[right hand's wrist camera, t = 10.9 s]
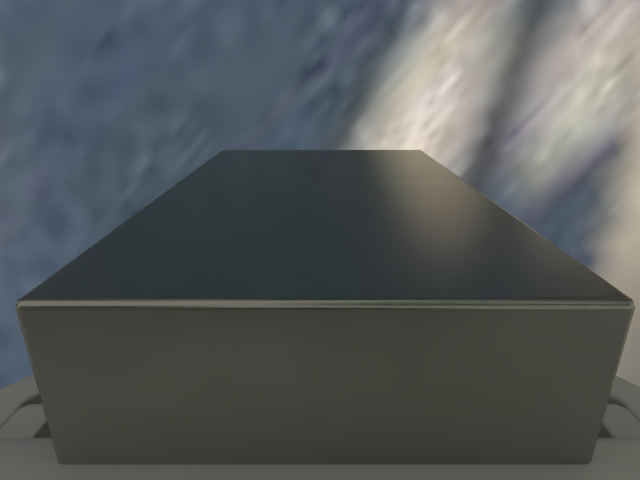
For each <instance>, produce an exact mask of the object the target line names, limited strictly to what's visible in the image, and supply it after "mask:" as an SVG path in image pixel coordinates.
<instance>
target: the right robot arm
mask: <svg viewBox="0 0 640 480" xmlns="http://www.w3.org/2000/svg"><path fill="white" fill-rule="evenodd" d="M0 480H640V387H639V386H637V385H634V384H632V383H630V382H628V381H626V380H624V379H621V378H619V377H617V376H615V379H614V383H613V386H612V390H611V393H610V397H609V400H608V404H607V407H606V411H605V414H604V418H603V421H602V425H601V428H600V432H599V435H598V439H597V442H596V446H595V449H594V453H593V456H592V460H591V463H589V464H586V465H62V464H60V463H58V459H57V455H56V452H55V448H54V445H53V441H52V437H51V434H50V430H49V427H48V423H47V420H46V416H45V412H44V409H43V405H42V402H41V398H40V394H39V391H38V387H37V384H36V380H35V376H34V374H32V375H30V376H28V377H26V378H24V379H22V380H20V381H17V382H15V383H13V384H11V385H9V386H7V387H4V388H2V389H0Z"/></svg>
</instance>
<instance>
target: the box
mask: <svg viewBox="0 0 640 480" xmlns="http://www.w3.org/2000/svg"><path fill="white" fill-rule="evenodd" d="M634 309H635V307H634V302H633V300H632V299H631V298H629V297H628V296H626V295H625V294H623V293H622V292H621V291H619V290H618V289H616V288H615V287H614V286H612V285H611V284H609V283H608V282H606V281H605V280H604V279H602V278H601V277H599V276H598V275H597V274H595V273H594V272H592V271H591V270H590V269H588V268H587V267H585V266H584V265H582V264H581V263H580V262H578V261H577V260H575V259H574V258H573V257H571V256H570V255H568V254H567V253H565V252H564V251H563V250H561V249H560V248H558V247H557V246H556V245H554V244H553V243H551V242H550V241H548V240H547V239H546V238H544V237H543V236H541V235H540V234H539V233H537V232H536V231H534V230H533V229H532V228H530V227H529V226H527V225H526V224H524V223H523V222H522V221H520V220H519V219H517V218H516V217H515V216H513V215H512V214H510V213H509V212H507V211H506V210H505V209H503V208H502V207H500V206H499V205H498V204H496V203H495V202H493V201H492V200H490V199H489V198H488V197H486V196H485V195H483V194H482V193H481V192H479V191H478V190H476V189H475V188H474V187H472V186H471V185H469V184H468V183H466V182H465V181H464V180H462V179H461V178H459V177H458V176H457V175H455V174H454V173H452V172H451V171H449V170H448V169H447V168H445V167H444V166H442V165H441V164H440V163H438V162H437V161H435V160H434V159H432V158H431V157H430V156H428V155H427V154H425V153H424V152H423V151H421V150H223V151H221V152H219V153H218V154H217V155H215V156H214V157H213V158H211V159H210V160H208V161H207V162H206V163H204V164H203V165H202V166H200V167H199V168H198V169H196V170H195V171H193V172H192V173H191V174H189V175H188V176H187V177H185V178H184V179H183V180H181V181H180V182H179V183H177V184H176V185H174V186H173V187H172V188H170V189H169V190H168V191H166V192H165V193H164V194H162V195H161V196H159V197H158V198H157V199H155V200H154V201H153V202H151V203H150V204H149V205H147V206H146V207H144V208H143V209H142V210H140V211H139V212H138V213H136V214H135V215H134V216H132V217H131V218H129V219H128V220H127V221H125V222H124V223H123V224H121V225H120V226H119V227H117V228H116V229H114V230H113V231H112V232H110V233H109V234H108V235H106V236H105V237H104V238H102V239H101V240H99V241H98V242H97V243H95V244H94V245H93V246H91V247H90V248H89V249H87V250H86V251H84V252H83V253H82V254H80V255H79V256H78V257H76V258H75V259H74V260H72V261H71V262H69V263H68V264H67V265H65V266H64V267H63V268H61V269H60V270H59V271H57V272H56V273H54V274H53V275H52V276H50V277H49V278H48V279H46V280H45V281H44V282H42V283H41V284H39V285H38V286H37V287H35V288H34V289H33V290H31V291H30V292H29V293H27V294H26V295H25V296H23V297H22V298H20V299H19V300H18V302H17V303H16V312H17V315H18V319H19V322H20V326H21V330H22V333H23V337H24V340H25V344H26V348H27V351H28V355H29V358H30V362H31V366H32V369H33V373H34V376H35V380H36V384H37V387H38V391H39V394H40V398H41V402H42V405H43V409H44V412H45V416H46V420H47V423H48V427H49V430H50V434H51V437H52V441H53V445H54V448H55V452H56V455H57V459H58V463H60V464H62V465H586V464H589V463H591V460H592V456H593V453H594V449H595V446H596V442H597V439H598V435H599V432H600V428H601V425H602V421H603V418H604V414H605V411H606V407H607V404H608V400H609V397H610V393H611V390H612V386H613V383H614V379H615V376H616V372H617V369H618V365H619V362H620V358H621V355H622V351H623V348H624V344H625V341H626V337H627V334H628V330H629V326H630V323H631V320H632V316H633V313H634Z"/></svg>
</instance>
